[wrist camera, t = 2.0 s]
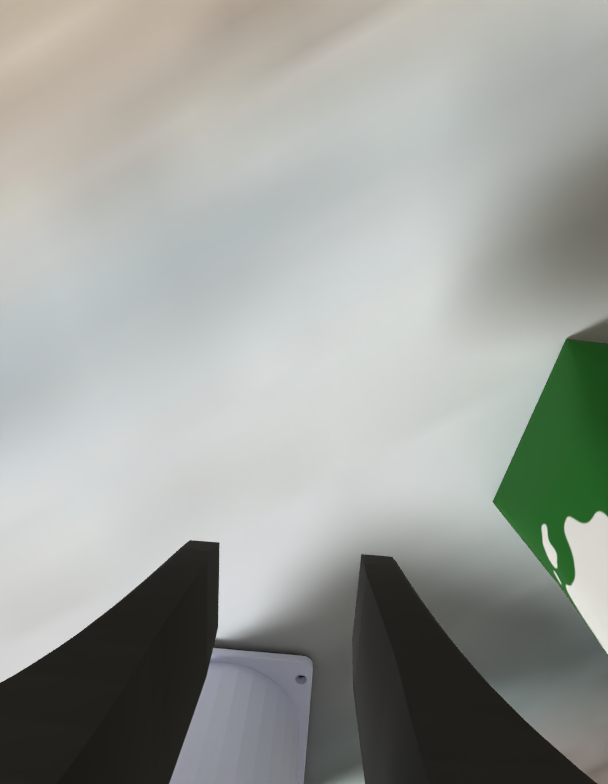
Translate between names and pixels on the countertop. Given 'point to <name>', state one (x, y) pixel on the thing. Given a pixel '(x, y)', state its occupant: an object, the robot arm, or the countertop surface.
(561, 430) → the soya milk
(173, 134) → the countertop surface
